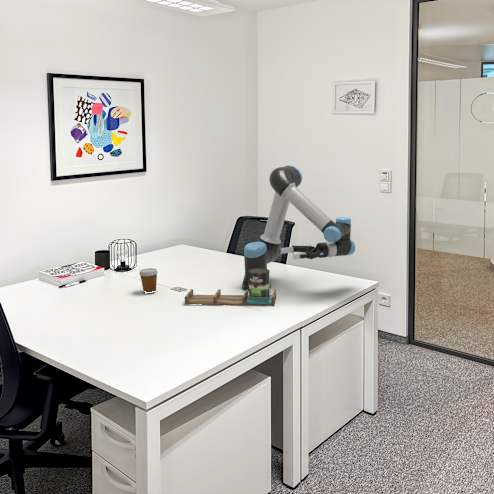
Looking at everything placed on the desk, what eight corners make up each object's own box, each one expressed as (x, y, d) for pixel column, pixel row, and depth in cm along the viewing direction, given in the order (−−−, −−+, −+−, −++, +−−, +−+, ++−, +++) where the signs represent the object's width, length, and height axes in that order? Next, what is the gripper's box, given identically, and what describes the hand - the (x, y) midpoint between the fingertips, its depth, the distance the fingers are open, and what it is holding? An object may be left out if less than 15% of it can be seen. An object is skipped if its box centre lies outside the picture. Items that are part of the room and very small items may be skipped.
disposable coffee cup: (155, 295, 306) (153, 272, 303) (137, 294, 308) (136, 272, 305) (161, 290, 315) (160, 268, 312) (144, 289, 317) (143, 267, 314)
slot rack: (191, 296, 301) (191, 289, 300) (276, 297, 295) (276, 289, 294) (185, 305, 287) (184, 297, 286) (274, 305, 281) (273, 297, 281)
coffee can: (266, 302, 283) (265, 273, 280) (245, 300, 286) (244, 272, 284) (273, 296, 292) (272, 268, 289) (253, 295, 296) (252, 267, 293)
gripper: (338, 262, 287) (298, 267, 279) (313, 251, 309) (276, 255, 302) (338, 247, 285) (298, 251, 277) (314, 237, 308) (276, 241, 300)
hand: (287, 253), depth 290 cm, fingers open, 13 cm apart
